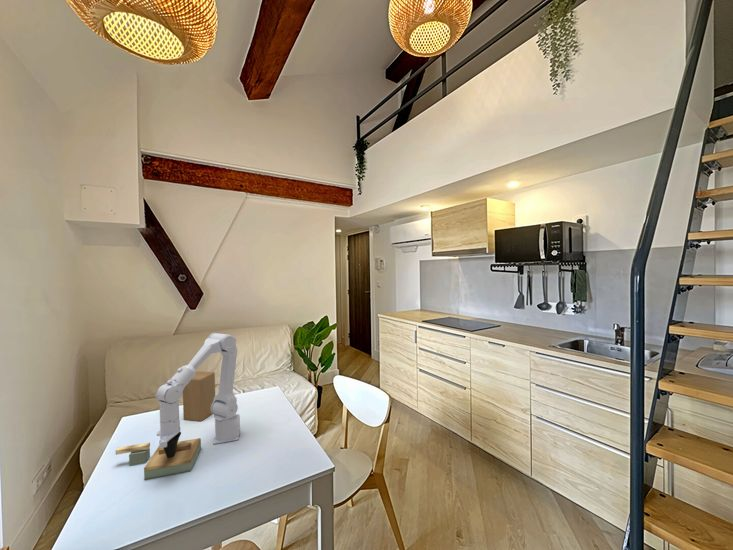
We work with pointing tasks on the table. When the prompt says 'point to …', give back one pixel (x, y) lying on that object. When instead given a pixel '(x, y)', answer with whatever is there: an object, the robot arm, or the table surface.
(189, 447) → the lid
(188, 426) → the table surface
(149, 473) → the green piece
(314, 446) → the table surface
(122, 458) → the table surface
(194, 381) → the wooden block
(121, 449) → the light wooden bar
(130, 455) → the block
